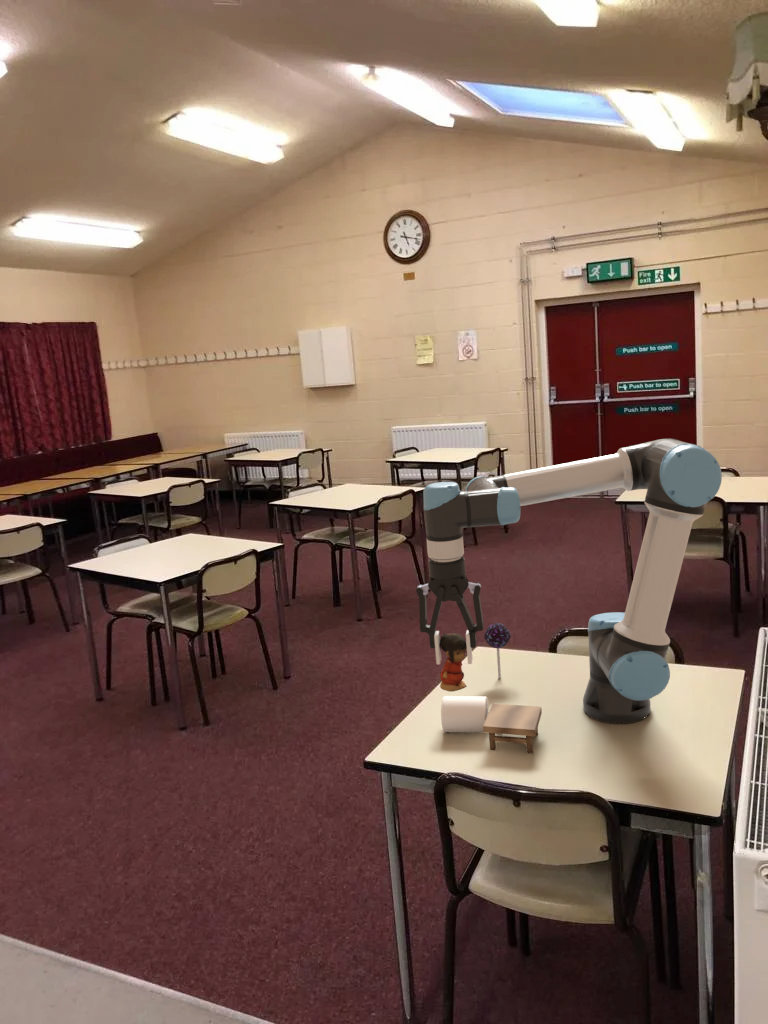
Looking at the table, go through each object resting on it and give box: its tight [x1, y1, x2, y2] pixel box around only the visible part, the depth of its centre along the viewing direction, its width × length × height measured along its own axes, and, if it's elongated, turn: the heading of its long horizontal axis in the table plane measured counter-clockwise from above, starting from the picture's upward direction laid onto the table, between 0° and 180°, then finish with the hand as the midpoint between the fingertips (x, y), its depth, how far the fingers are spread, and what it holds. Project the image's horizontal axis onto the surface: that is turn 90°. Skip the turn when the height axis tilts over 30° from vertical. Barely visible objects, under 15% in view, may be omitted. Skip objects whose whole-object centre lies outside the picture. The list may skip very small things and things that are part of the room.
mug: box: [440, 695, 489, 734], centre depth 183 cm, size 12×10×8 cm
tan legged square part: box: [483, 703, 542, 755], centre depth 174 cm, size 11×11×6 cm
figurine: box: [439, 632, 467, 692], centre depth 169 cm, size 6×6×12 cm
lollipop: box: [483, 622, 512, 679], centre depth 207 cm, size 7×7×15 cm
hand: (454, 661), depth 169 cm, fingers closed on figurine, 6 cm apart
